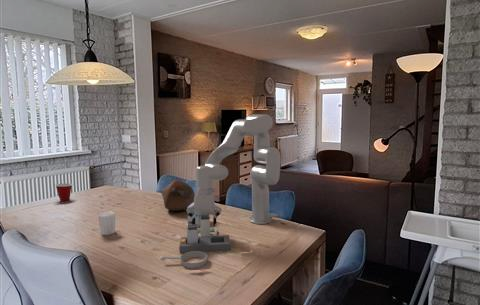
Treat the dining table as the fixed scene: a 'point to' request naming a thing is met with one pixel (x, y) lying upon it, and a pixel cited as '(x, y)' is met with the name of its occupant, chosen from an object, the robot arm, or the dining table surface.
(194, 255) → the saucepan
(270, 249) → the dining table surface
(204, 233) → the plug
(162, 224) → the dining table surface
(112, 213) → the white cup
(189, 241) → the light grey peg
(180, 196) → the jug
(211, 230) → the tray
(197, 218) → the light bulb box
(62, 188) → the plastic cup
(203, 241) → the strip
